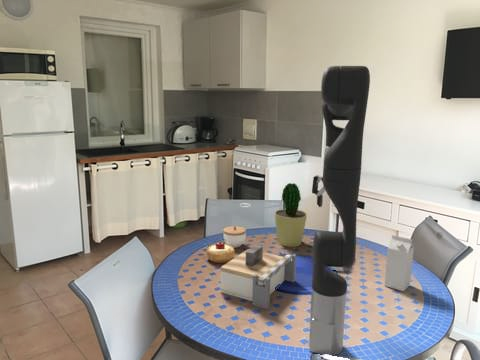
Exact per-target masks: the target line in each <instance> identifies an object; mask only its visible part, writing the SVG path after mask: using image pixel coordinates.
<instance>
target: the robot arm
mask: <svg viewBox="0 0 480 360" xmlns="http://www.w3.org/2000/svg"><path fill="white" fill-rule="evenodd" d="M370 74H371V73H370V70H369V68H368V67H367V66H365V65H333V66H329V67H326V68H325V70H324V71H323V74H322V77H321V84H320V85H321V86H320V88H321V89H320V91H321V98H322V99H321V100H322V101H323V102H322V105H321V111H322V115H323V120H324V125H325V148H324V156H323V169H322V176H319V175H314V176H313V179H312V187H311V188H312V189H311V193H312V194H315V196H316V205H317V206H318V208H321V207H322V206H323V200H324V199H323V198H324V195H323V194H324V193H325V192H326V194H327V196H328V198H329V199H330V201H331V202H332V204H333V205H334V208H335V210H336V211H337V212H338V215H339V217H340V220H341V223H342V231H331V230H330V231H327V230H318V231H317V232H315V234H314V236H313V242H312V278H311V279H312V280H311V282H312V283H311V298H310V299H311V300H310V301H311V302H310V318H309V336H308V345H309V352H312V353H315V354H318V353H319V355H321V354H329V355H334V356H337V355H339V354H341V353H342V351H343V348H344V334H345V333H344V332H345V319H346V304H347V294H348V293H347V291H348V282H347V280H346V278H345V277H344V276H342V275H340V274H339V273H336V272H335V271H332V270H331V269H330V270H329V269H328V268H327V267H343V268H350V267H352V266H353V265H354V263H355V260H356V249H357V216H358V215H357V214H358V201H359V192H360V187H361V185H360V183H361V177H362V176H361V175H362V161H363V160H362V159H363V139H364V128H365V124H366V122H365V121H366V114H367V108H368V99H369V94H370V93H369V92H370V86H371V85H370V83H371V75H370ZM333 121H347V123H346V125H345V126H344V127H342V126H341V127H340V126H336V125H335V124H334V122H333ZM321 182H322V187H321V188H320V189H319V183H321Z"/></svg>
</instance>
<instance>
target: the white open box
mask: <svg viewBox="0 0 480 360" xmlns="http://www.w3.org/2000/svg"><path fill="white" fill-rule="evenodd" d="M291 255H292V260H291V261H289V262H288V263H287V264H286V265H285V266H284V267H283V268H282V269H281V270H280V271H278V272H277V273H276V274H275V275H274V276H273V277H272V278H271V279H270V277H267V278H266V280H265V284H264V285H259V284H258V274H254V275H253V279H250V278H246V277H242V276H238V275H235V274H231V273H227V272H223V271H221V270H220V293H222V294H225V295H226V294H227V295H228V296H232V297H237V298H241V299H244V300H246V301H251V303H252V304H251V306H255V307H258V308H261V309H266V310H268V309H270V307H271V305H270V303H271V301H270V300H271V299H270V298H271V295H272V293H273V292H275V290H276V289H275V287H276V285H278V284H280V285H282V284H283V282H285V281H288V282H290V283H295V281H296V268H297V267H296V266H297V254H296V253H294V254H291ZM280 256H282V257H285V256H286V252H285V251H281V252H280Z"/></svg>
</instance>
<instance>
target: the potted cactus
mask: <svg viewBox="0 0 480 360" xmlns="http://www.w3.org/2000/svg"><path fill="white" fill-rule="evenodd" d="M280 193H281V195H280V197H281V201H282V203H284V204H283V205H284V208H282V209H277V210H276V211H274V218H275V220H274V221H275V228H276V236H277V243H278V244H279V245H281V246H283V247H289V248H290V247H291V248H293V247H298V246H300V245H302V241H303V237H304V231H305V226H306V222H307V216H308V213H307V212H305V211H304V210H300V209H299V206H300V201H302V196H303V195H301V190H300V187H299V185H297V183H296V182H295V183H294V182H292V183H290V182H289V183H286V185H285V184H284V187H283V189H282V192H280Z"/></svg>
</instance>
